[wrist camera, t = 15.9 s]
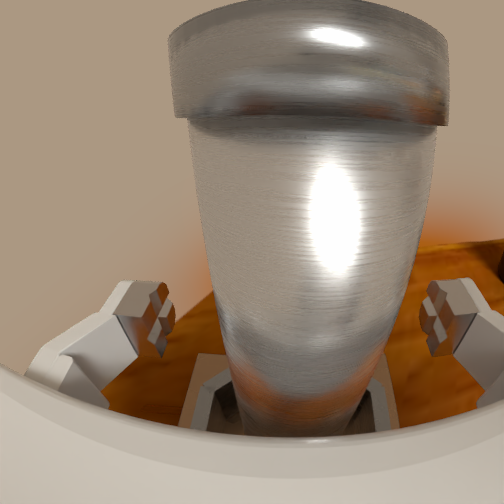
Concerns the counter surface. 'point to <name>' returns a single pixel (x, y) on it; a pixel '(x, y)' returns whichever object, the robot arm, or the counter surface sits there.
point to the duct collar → (227, 412)
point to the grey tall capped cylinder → (309, 191)
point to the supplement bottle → (501, 267)
